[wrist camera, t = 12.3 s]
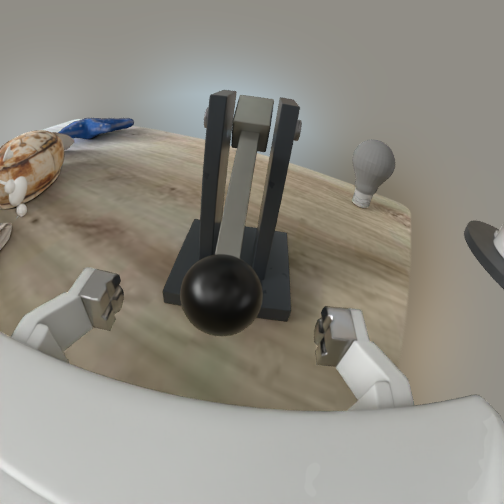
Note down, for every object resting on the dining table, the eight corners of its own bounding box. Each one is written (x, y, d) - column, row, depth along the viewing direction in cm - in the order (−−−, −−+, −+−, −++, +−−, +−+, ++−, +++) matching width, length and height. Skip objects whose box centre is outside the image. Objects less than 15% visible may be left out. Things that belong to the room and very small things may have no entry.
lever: (253, 344, 13) (262, 337, 10) (180, 332, 13) (165, 322, 10) (278, 132, 19) (286, 93, 16) (228, 125, 19) (229, 85, 15)
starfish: (142, 133, 50) (140, 110, 47) (55, 158, 42) (50, 135, 39) (127, 121, 62) (125, 103, 59) (60, 140, 54) (57, 122, 51)
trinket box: (61, 160, 39) (58, 118, 35) (76, 188, 31) (70, 132, 27) (-4, 183, 31) (-11, 140, 26) (-10, 220, 23) (-24, 163, 19)
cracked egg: (25, 130, 30) (26, 123, 29) (12, 153, 37) (13, 148, 36) (84, 135, 39) (84, 129, 39) (60, 155, 46) (60, 150, 46)
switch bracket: (287, 321, 20) (347, 123, 12) (163, 302, 20) (157, 97, 11) (284, 242, 28) (316, 101, 20) (194, 229, 28) (203, 85, 19)
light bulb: (333, 201, 38) (352, 133, 32) (349, 192, 42) (367, 133, 36) (370, 221, 35) (394, 151, 29) (383, 210, 39) (404, 148, 33)
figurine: (-20, 231, 20) (19, 243, 24) (7, 144, 20) (46, 160, 24) (-15, 223, 23) (19, 234, 27) (9, 146, 23) (43, 160, 27)
